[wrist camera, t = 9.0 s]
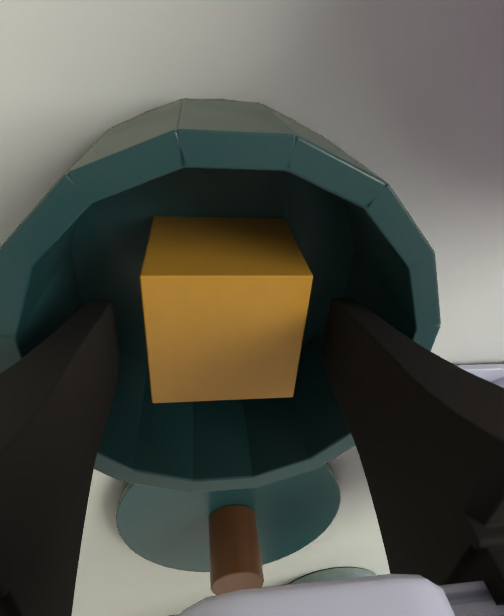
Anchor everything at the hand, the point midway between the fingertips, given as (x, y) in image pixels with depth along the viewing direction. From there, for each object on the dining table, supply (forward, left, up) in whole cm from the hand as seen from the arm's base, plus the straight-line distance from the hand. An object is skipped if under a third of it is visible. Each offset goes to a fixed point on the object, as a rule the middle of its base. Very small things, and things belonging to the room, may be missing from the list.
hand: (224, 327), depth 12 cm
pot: (0, 0, -4) cm, 4 cm away
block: (0, 0, -3) cm, 3 cm away
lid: (-1, +15, -3) cm, 15 cm away
